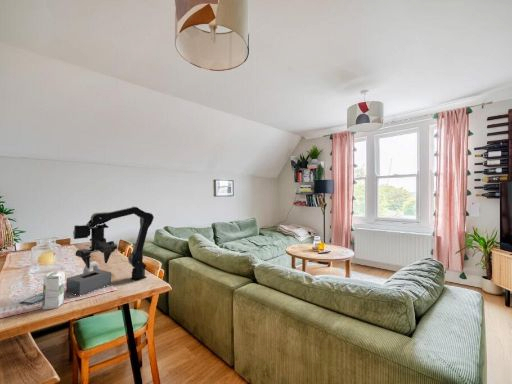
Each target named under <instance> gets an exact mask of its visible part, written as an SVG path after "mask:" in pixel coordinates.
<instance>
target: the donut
mask: <svg viewBox="0 0 512 384" xmlns="http://www.w3.org/2000/svg"><path fill="white" fill-rule="evenodd" d="M100 268H101V267H100V264H99V263H98V262H97V261H94V260H93V261H90V268H87V266H86V265H84V267H83V270H82V271H83V272H82V274H83V273H87V272H90V271H94V270H97V269H100ZM100 270H101V269H100Z"/></svg>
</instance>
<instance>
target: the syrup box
mask: <svg viewBox="0 0 512 384" xmlns="http://www.w3.org/2000/svg"><path fill="white" fill-rule="evenodd" d="M65 280H66V271H53V272H49V273H48V274H45V275H44V277H43V283H42V285H43V287H42V293H43V301H41V302H42V303H41V310H45V311H46V310H55V309H58V308H59V307H60V306H62V305H63V304H64V299H65V284H66V283H65V282H66V281H65Z"/></svg>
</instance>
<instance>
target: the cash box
mask: <svg viewBox="0 0 512 384" xmlns="http://www.w3.org/2000/svg"><path fill="white" fill-rule="evenodd" d="M93 275H94V276H93ZM65 280H66V281H65V282H66V283H65V284H66V287H65V292H66V293H68V292H69V293H68V294H71V293H73V294H72V295H74V294H76V295H75V296H77V295H79V296H78V297H81V296H80V295H82V296H84V295H83V294H85V295H87V294H89V292H90V293H92V292H91V291H93V292H95V291H94V290H96V291H98V290H97V289H99V288H101V289H103V288H102V287H104V286H107V285H110V284H111V285H112V272H110V271H108V270H103V269H97V270H94V271H93V270H90V272H87V273H83V272H82V273H80V274H77V275H73V276H69V277H66V279H65ZM111 285H110V286H111ZM107 287H108V286H107ZM104 288H105V287H104ZM99 290H100V289H99ZM86 293H87V294H86Z"/></svg>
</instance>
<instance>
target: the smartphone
mask: <svg viewBox="0 0 512 384" xmlns="http://www.w3.org/2000/svg"><path fill="white" fill-rule="evenodd" d="M42 300H43V292H41V293H38V294H36V295H34V296H31V297H29V298H27V299H24V300H22V301H20V302H19V304H21V305H28V306H33V305H36V304H38V303H40V302H42ZM37 302H38V303H37ZM35 303H36V304H35ZM32 304H33V305H32Z"/></svg>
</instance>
